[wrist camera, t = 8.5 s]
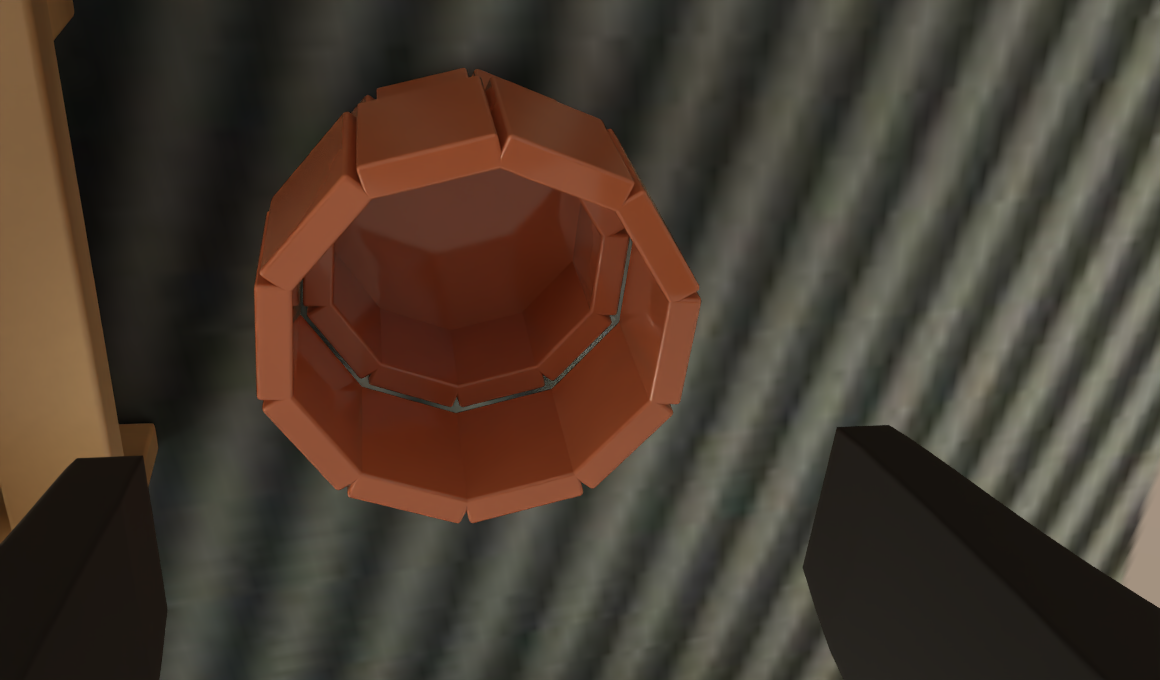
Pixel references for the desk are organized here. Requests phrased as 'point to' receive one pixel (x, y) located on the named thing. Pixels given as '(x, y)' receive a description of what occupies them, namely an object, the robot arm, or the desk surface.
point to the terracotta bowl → (469, 300)
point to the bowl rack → (47, 281)
